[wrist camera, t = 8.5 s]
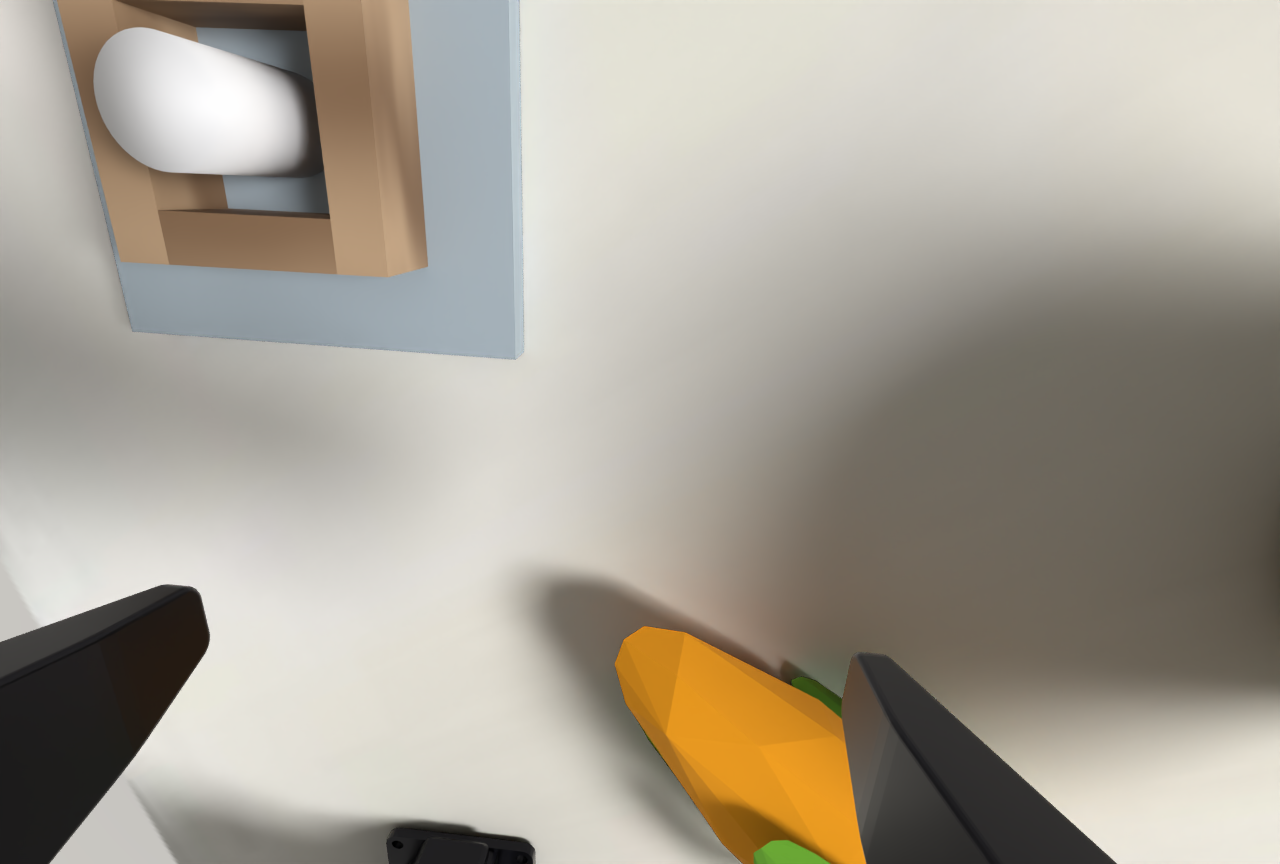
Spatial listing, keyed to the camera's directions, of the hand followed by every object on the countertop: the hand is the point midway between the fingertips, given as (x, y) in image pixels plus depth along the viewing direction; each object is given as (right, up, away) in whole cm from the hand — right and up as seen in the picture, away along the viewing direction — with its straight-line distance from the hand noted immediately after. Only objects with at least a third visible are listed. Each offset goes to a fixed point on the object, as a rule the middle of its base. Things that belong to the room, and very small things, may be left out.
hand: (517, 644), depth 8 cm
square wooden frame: (-8, +11, +8) cm, 16 cm away
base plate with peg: (-8, +11, +9) cm, 17 cm away
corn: (+8, -9, +16) cm, 20 cm away
